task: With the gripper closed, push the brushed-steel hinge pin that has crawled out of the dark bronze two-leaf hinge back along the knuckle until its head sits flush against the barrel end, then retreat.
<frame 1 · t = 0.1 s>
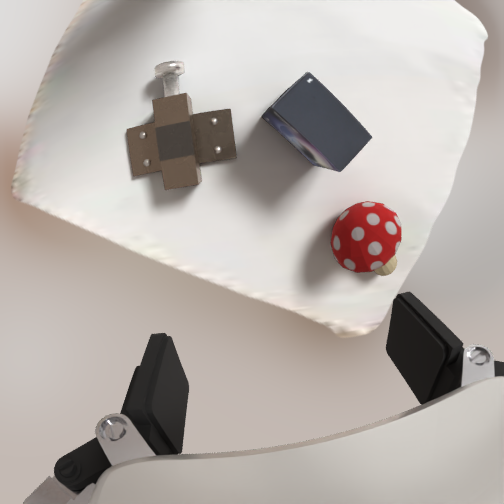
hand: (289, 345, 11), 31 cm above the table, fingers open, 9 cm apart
small box: (301, 127, 37), on the table
decorative mushroom: (358, 240, 44), on the table
hinge: (180, 141, 36), on the table
hinge pin: (173, 111, 33), point 2 cm above the table, slide at 3.5 cm
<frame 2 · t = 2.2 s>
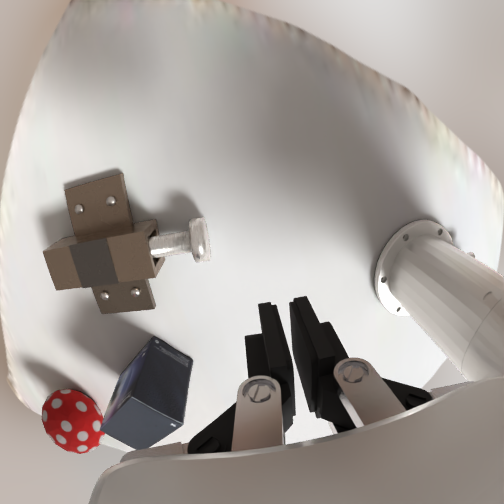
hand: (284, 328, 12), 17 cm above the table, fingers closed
small box: (153, 367, 34), on the table
decorative mushroom: (75, 402, 36), on the table
hinge: (109, 248, 28), on the table
hinge pin: (138, 249, 26), point 2 cm above the table, slide at 3.5 cm
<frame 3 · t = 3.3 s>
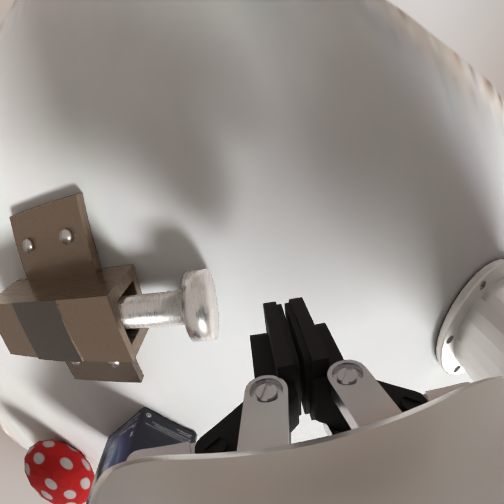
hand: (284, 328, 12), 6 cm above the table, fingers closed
small box: (147, 434, 24), on the table
decorative mushroom: (63, 449, 27), on the table
hinge: (74, 300, 18), on the table
hinge pin: (107, 313, 16), point 2 cm above the table, slide at 3.5 cm
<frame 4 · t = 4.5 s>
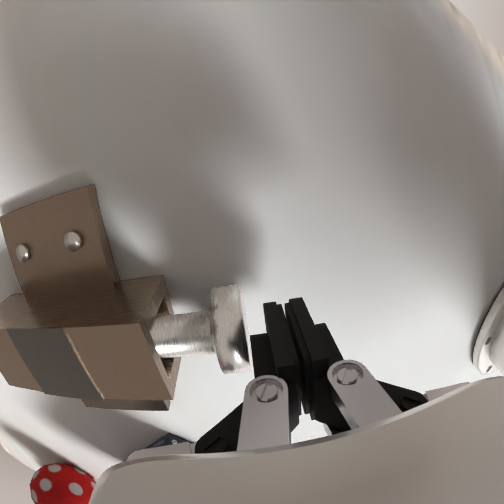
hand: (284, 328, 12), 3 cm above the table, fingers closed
decorative mushroom: (69, 471, 24), on the table
hinge: (83, 320, 14), on the table
hinge pin: (112, 340, 12), point 2 cm above the table, slide at 2.3 cm, touching gripper
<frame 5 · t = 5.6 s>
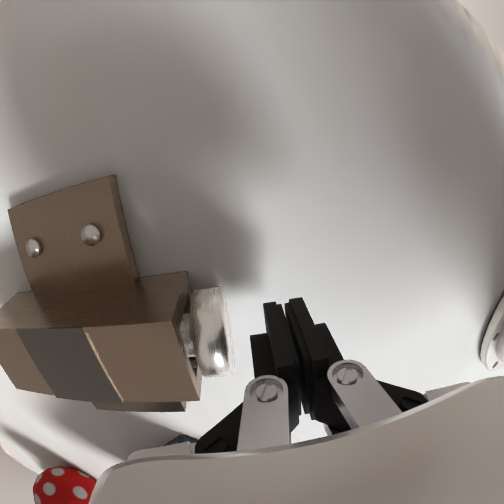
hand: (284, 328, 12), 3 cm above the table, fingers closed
decorative mushroom: (72, 473, 23), on the table
hinge: (97, 318, 14), on the table
hinge pin: (96, 341, 12), point 2 cm above the table, slide at 0.1 cm
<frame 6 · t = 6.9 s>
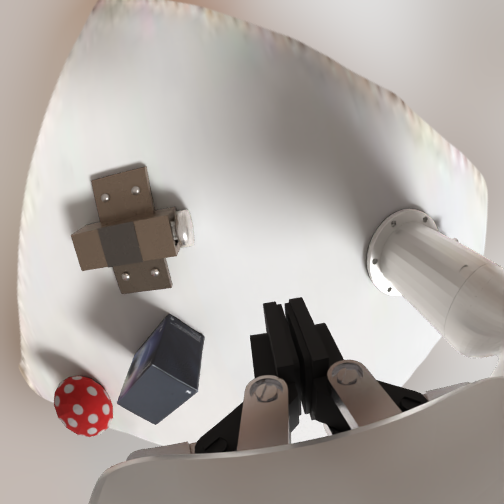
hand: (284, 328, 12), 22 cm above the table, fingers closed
small box: (167, 345, 38), on the table
decorative mushroom: (85, 389, 41), on the table
hinge: (132, 233, 32), on the table
hinge pin: (133, 237, 30), point 2 cm above the table, slide at 0.1 cm
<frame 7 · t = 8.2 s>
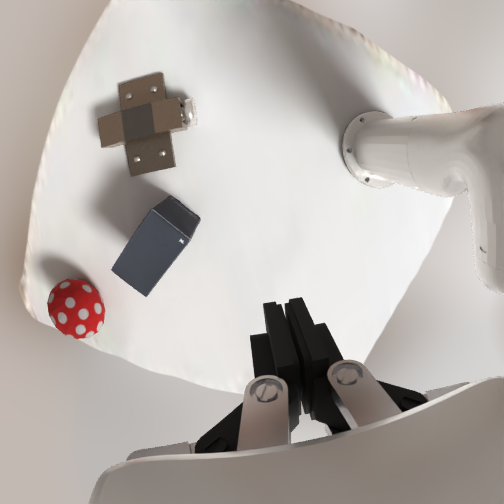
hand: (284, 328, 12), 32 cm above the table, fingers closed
small box: (165, 231, 43), on the table
decorative mushroom: (80, 300, 46), on the table
hinge: (146, 124, 37), on the table
hinge pin: (148, 121, 35), point 2 cm above the table, slide at 0.1 cm
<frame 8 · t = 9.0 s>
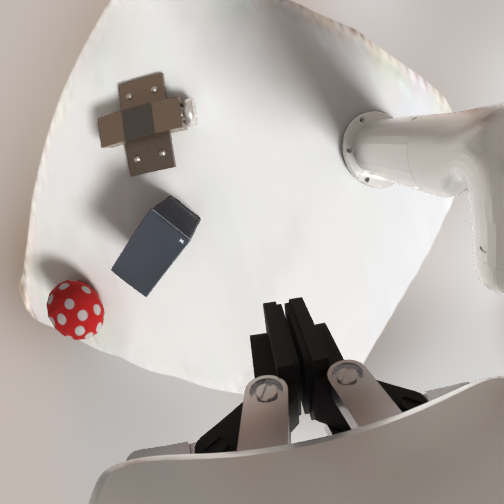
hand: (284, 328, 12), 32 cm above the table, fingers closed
small box: (165, 231, 43), on the table
decorative mushroom: (79, 301, 46), on the table
hinge: (146, 124, 37), on the table
hinge pin: (148, 121, 35), point 2 cm above the table, slide at 0.1 cm
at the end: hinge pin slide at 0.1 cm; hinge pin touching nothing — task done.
